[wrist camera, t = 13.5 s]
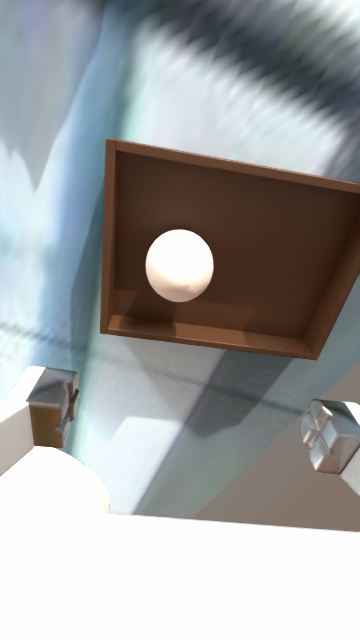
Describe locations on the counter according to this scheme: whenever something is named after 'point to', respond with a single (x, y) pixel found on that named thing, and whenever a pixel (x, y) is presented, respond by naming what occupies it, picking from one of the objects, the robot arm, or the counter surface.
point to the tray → (228, 250)
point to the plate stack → (53, 483)
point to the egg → (179, 265)
